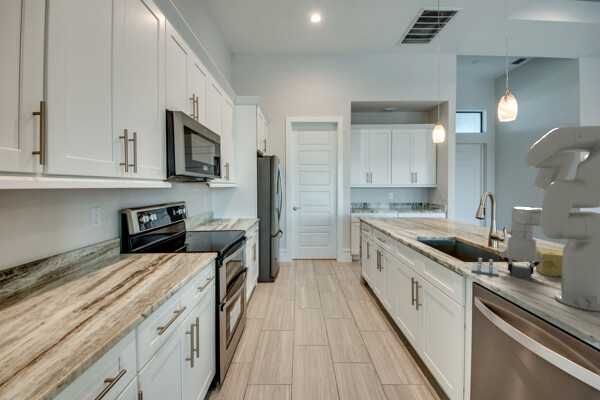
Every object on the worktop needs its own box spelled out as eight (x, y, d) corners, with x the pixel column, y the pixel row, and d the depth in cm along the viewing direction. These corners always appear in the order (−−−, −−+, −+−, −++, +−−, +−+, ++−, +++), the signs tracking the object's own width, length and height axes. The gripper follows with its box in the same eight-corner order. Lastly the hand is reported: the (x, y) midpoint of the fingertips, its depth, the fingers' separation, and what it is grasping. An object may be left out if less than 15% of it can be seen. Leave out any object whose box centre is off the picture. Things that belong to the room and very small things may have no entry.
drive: (530, 279, 111) (530, 269, 111) (512, 276, 114) (512, 266, 114) (527, 273, 119) (528, 263, 119) (510, 270, 123) (511, 261, 122)
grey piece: (498, 276, 115) (498, 267, 115) (471, 272, 121) (471, 263, 121) (498, 268, 126) (498, 260, 126) (473, 264, 132) (473, 257, 132)
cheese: (573, 279, 111) (575, 256, 110) (540, 275, 116) (541, 253, 116) (564, 272, 120) (565, 251, 120) (534, 269, 125) (534, 248, 125)
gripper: (497, 233, 118) (496, 272, 119) (549, 238, 108) (547, 280, 109) (497, 231, 124) (496, 268, 125) (546, 235, 114) (544, 275, 115)
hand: (520, 273), depth 117 cm, fingers closed on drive, 6 cm apart
